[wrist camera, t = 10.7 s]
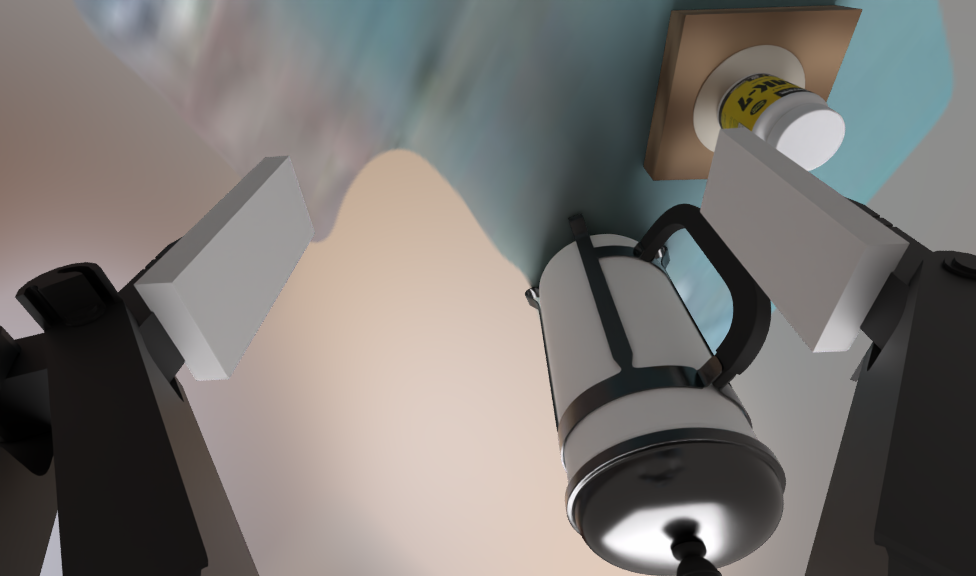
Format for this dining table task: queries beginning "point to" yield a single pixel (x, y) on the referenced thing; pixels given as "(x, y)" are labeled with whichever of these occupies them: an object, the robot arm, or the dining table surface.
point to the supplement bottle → (783, 118)
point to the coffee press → (655, 403)
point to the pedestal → (735, 72)
